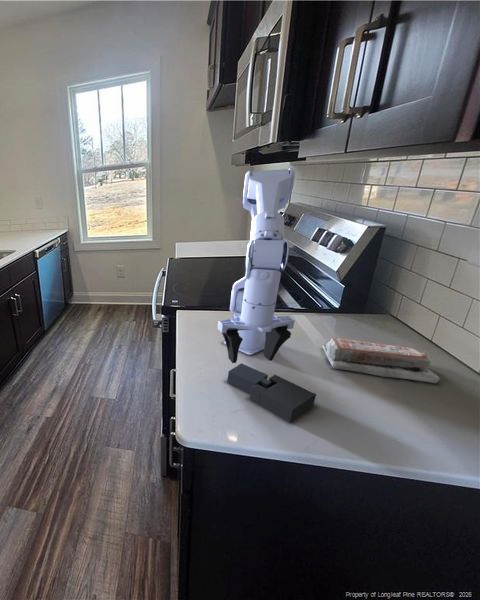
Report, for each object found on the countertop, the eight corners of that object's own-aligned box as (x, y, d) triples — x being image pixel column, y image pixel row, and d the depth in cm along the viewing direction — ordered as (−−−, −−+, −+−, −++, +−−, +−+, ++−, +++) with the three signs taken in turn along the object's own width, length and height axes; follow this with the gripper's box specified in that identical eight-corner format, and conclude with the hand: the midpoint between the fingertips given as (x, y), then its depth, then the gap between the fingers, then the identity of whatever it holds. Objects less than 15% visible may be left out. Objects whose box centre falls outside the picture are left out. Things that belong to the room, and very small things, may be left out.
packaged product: (336, 351, 71) (325, 331, 79) (332, 369, 73) (321, 348, 81) (446, 365, 64) (421, 342, 72) (438, 385, 66) (414, 360, 74)
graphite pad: (239, 374, 73) (241, 363, 72) (273, 390, 67) (276, 378, 66) (227, 382, 71) (228, 371, 70) (261, 399, 65) (263, 387, 64)
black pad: (272, 386, 69) (275, 374, 68) (313, 406, 62) (316, 394, 61) (249, 399, 65) (251, 387, 64) (289, 422, 59) (292, 409, 57)
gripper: (232, 310, 59) (224, 372, 64) (309, 305, 59) (296, 367, 64) (216, 297, 65) (210, 354, 70) (286, 292, 65) (275, 350, 70)
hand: (250, 359), depth 67 cm, fingers open, 7 cm apart
